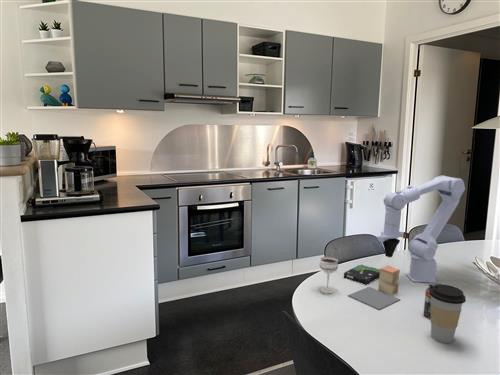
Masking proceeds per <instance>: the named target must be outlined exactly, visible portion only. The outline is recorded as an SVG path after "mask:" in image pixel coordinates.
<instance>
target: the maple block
mask: <svg viewBox="0 0 500 375" xmlns="http://www.w3.org/2000/svg"><path fill="white" fill-rule="evenodd" d="M379 270H380V276H379V278H378V289H377V290H379V291H381V292H384V293H386V294H389V295H391V296H393V295H395V294H397V293H398V291H399V283H400V272H401V271H400V269H399V268H396V267H393V266H391V265H385V266H383V267H380V269H379Z"/></svg>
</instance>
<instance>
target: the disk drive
mask: <svg viewBox="0 0 500 375" xmlns="http://www.w3.org/2000/svg"><path fill="white" fill-rule="evenodd" d="M379 276H380V269H379V268H376V267H372V266H367V265H364V264H359V265H356V266H355V267H353V268H351V269H348V270H347V271H345V272H343V278H344V279H346V278H347V279H346V280H349V279H350V281H352V280H353V282H355V281H356V283H358V282H359V283H358V284H361V283H363V284H362V285H364V284H365V285H364V286H367V284H368V285H369V284H371V283H372V282H374V281H376V280H377V279H379ZM375 279H376V280H375ZM370 282H371V283H370Z"/></svg>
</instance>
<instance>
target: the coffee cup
mask: <svg viewBox="0 0 500 375" xmlns="http://www.w3.org/2000/svg"><path fill="white" fill-rule="evenodd" d="M429 294H430V295H431V319H430V326H431V327H430V328H431V329H430V336H431V338H432V339H434V340H435V341H437V342H440V343H443V344H444V343H445V344H449V343H453V342H454V338H455V335H456V330H457V327H458V325H459V320H460V317H461V314H462V305H463V304H464V303H465V302H466V296H465V295H464V291H463V290H462V289H460V288H458V287H455V286H453V285H449V284H443V283H441V284H438V285H434V286H433V288H432V289H431V290H430V292H429Z"/></svg>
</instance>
